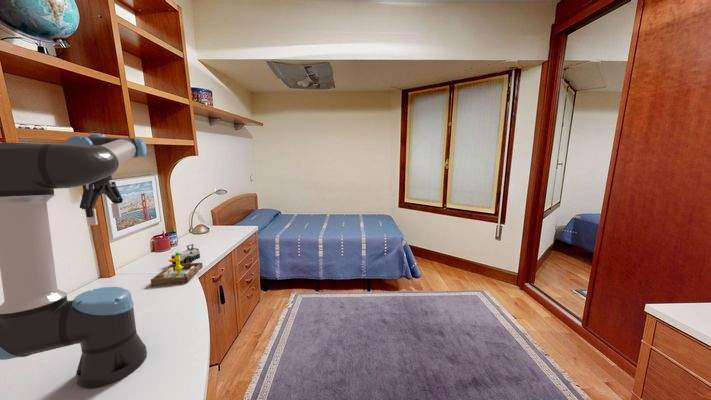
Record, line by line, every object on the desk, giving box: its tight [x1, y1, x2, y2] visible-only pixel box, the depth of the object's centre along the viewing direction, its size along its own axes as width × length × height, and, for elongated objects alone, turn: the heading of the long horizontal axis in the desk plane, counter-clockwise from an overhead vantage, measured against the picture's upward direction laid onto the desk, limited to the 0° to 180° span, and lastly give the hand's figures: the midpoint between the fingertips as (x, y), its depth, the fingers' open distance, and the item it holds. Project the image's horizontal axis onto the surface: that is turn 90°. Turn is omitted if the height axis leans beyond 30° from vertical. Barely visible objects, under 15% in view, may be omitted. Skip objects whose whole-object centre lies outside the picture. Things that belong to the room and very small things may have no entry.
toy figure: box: [167, 251, 184, 276], centre depth 134 cm, size 7×4×12 cm, turn 109°
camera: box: [170, 243, 201, 264], centre depth 154 cm, size 15×8×10 cm, turn 161°
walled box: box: [150, 262, 204, 288], centre depth 135 cm, size 19×16×4 cm
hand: (105, 221), depth 111 cm, fingers open, 13 cm apart
